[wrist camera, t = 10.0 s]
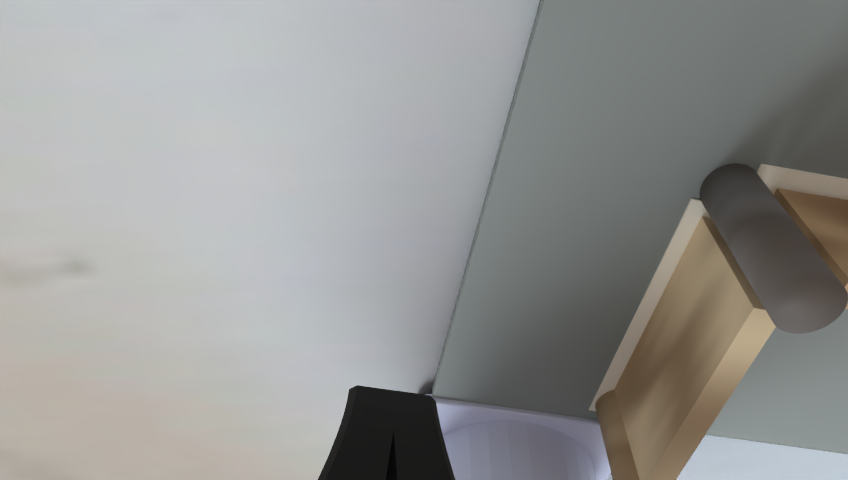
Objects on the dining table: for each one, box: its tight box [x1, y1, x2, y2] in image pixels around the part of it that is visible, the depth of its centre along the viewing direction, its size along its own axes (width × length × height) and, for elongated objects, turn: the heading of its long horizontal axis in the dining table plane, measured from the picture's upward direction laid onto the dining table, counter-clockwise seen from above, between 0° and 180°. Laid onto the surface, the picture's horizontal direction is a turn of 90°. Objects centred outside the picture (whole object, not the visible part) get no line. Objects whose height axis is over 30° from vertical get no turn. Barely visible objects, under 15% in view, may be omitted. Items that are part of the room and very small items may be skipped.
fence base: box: [595, 163, 848, 480], centre depth 20 cm, size 11×2×5 cm, turn 170°
